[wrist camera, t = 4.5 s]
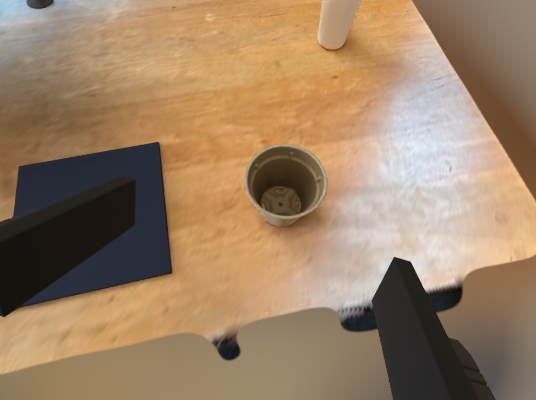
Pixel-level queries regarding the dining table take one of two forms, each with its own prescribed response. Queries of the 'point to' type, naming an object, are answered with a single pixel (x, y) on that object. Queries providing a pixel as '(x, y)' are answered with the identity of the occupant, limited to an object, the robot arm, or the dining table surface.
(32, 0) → the sundae
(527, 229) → the dining table surface
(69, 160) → the placemat
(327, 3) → the white vase
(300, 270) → the dining table surface
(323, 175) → the flower pot
